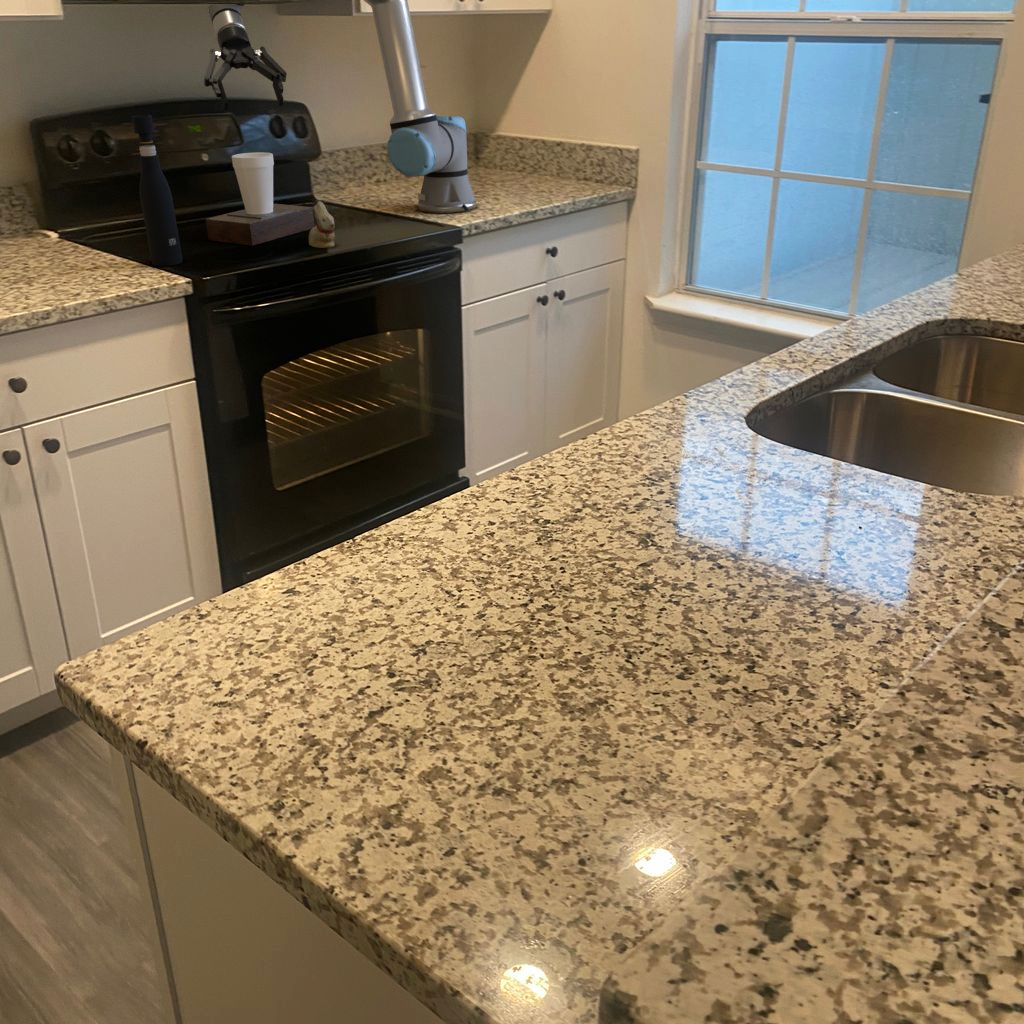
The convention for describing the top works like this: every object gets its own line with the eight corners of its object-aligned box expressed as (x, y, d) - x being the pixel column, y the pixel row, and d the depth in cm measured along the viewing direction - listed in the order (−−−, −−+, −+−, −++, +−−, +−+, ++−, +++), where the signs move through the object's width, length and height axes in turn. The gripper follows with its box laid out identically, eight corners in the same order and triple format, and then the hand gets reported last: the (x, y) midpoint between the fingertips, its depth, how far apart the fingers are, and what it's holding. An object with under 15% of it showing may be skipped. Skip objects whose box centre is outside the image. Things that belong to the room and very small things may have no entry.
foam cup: (284, 208, 250) (277, 152, 244) (273, 215, 241) (265, 157, 235) (246, 208, 250) (239, 152, 245) (234, 215, 242) (225, 158, 236)
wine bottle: (158, 259, 226) (131, 114, 212) (186, 259, 226) (162, 113, 212) (148, 266, 220) (120, 117, 207) (177, 266, 220) (151, 117, 206)
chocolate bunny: (314, 249, 231) (309, 204, 226) (307, 243, 237) (302, 198, 233) (338, 247, 232) (333, 202, 228) (330, 240, 239) (326, 196, 235)
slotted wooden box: (314, 227, 253) (312, 206, 251) (252, 245, 237) (249, 222, 234) (272, 223, 260) (269, 202, 257) (208, 240, 243) (205, 218, 241)
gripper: (279, 45, 265) (302, 111, 259) (181, 49, 255) (202, 118, 250) (282, 22, 258) (305, 90, 252) (181, 26, 249) (202, 96, 243)
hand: (254, 104), depth 251 cm, fingers open, 13 cm apart
